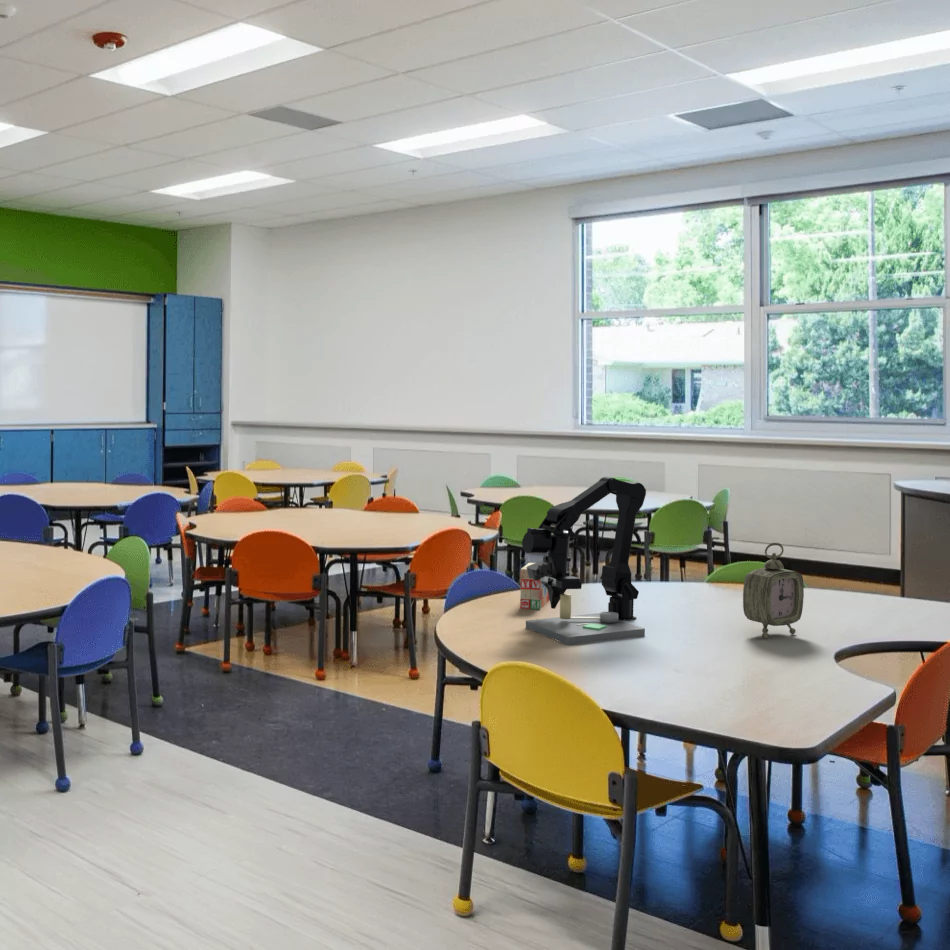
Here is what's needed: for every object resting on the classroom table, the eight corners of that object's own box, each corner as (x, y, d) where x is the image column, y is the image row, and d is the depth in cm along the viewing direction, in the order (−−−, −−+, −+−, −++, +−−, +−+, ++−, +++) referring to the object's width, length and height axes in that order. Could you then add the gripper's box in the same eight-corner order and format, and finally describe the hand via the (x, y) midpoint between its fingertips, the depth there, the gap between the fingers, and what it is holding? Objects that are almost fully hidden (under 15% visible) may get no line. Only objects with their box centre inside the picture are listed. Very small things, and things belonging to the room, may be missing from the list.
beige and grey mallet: (617, 618, 283) (617, 593, 282) (619, 622, 278) (619, 597, 277) (559, 618, 283) (559, 592, 283) (560, 622, 278) (560, 596, 278)
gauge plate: (598, 619, 292) (599, 611, 292) (644, 636, 273) (644, 626, 272) (525, 627, 282) (525, 618, 281) (567, 644, 262) (568, 635, 262)
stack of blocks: (534, 595, 329) (534, 557, 328) (553, 596, 327) (553, 558, 326) (519, 608, 308) (520, 568, 307) (540, 609, 306) (540, 569, 306)
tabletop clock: (765, 641, 268) (767, 546, 266) (739, 634, 275) (741, 542, 274) (802, 634, 275) (805, 542, 274) (776, 628, 283) (778, 538, 281)
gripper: (516, 547, 287) (512, 601, 288) (549, 558, 270) (544, 616, 271) (550, 547, 292) (546, 601, 293) (585, 558, 275) (580, 615, 276)
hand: (553, 608), depth 283 cm, fingers closed
